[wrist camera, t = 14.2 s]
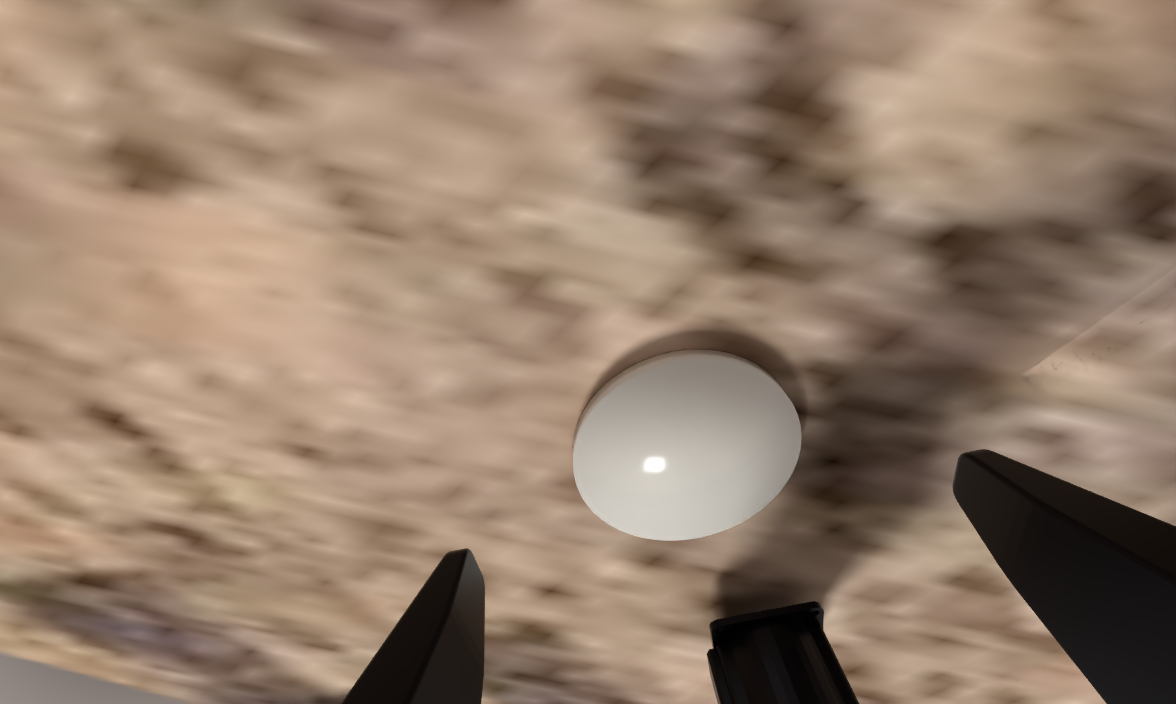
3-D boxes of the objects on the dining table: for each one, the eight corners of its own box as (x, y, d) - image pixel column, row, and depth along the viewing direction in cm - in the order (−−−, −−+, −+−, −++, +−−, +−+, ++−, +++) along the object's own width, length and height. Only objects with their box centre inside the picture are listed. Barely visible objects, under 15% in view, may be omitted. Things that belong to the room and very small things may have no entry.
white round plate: (791, 326, 22) (801, 336, 21) (793, 503, 28) (801, 517, 27) (548, 378, 23) (548, 390, 22) (596, 542, 28) (598, 557, 27)
